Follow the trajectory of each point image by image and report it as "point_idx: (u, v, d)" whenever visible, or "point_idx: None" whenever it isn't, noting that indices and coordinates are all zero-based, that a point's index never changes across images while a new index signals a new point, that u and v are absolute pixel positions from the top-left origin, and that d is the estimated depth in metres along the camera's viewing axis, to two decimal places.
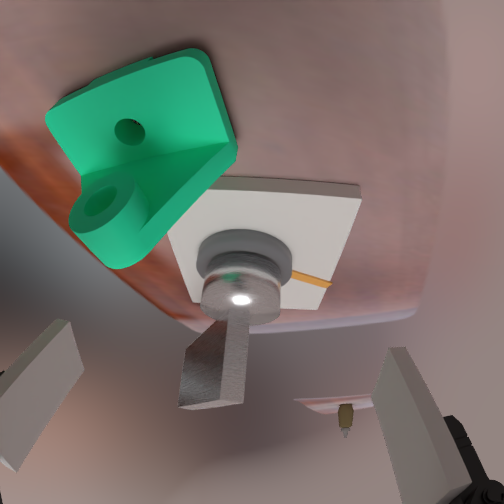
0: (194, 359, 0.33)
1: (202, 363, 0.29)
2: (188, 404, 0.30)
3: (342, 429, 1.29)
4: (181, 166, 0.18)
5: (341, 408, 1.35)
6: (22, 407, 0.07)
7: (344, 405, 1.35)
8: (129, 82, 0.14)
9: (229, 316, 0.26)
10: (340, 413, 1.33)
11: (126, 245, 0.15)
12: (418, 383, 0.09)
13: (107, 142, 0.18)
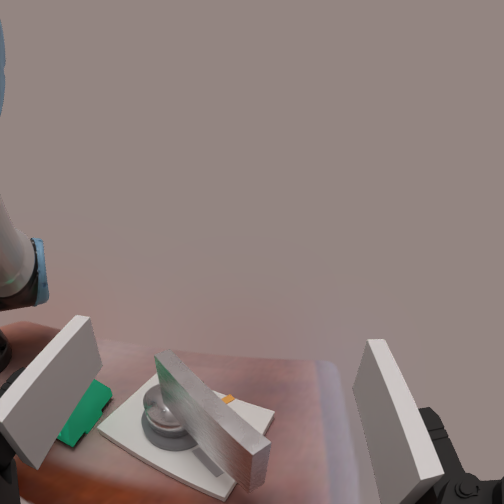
0: (210, 445, 0.26)
1: (188, 416, 0.28)
2: (208, 414, 0.24)
3: None
4: None
5: None
6: (44, 403, 0.08)
7: None
8: None
9: (163, 399, 0.34)
10: None
11: None
12: (394, 374, 0.09)
13: None
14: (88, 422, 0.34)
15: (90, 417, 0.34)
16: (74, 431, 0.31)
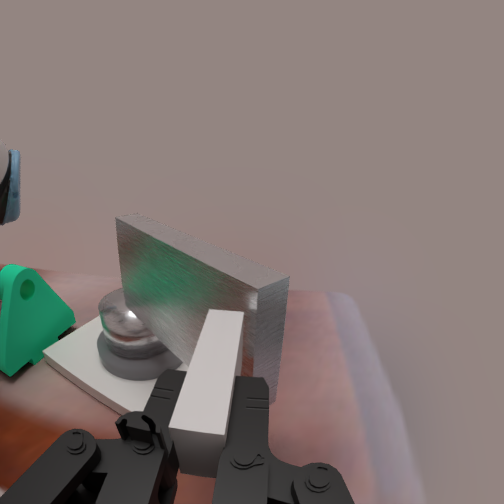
0: (185, 334, 0.18)
1: (154, 295, 0.20)
2: (180, 253, 0.16)
3: None
4: None
5: None
6: None
7: None
8: None
9: (125, 297, 0.26)
10: None
11: None
12: (231, 340, 0.11)
13: None
14: (36, 347, 0.25)
15: (40, 341, 0.26)
16: (15, 354, 0.22)
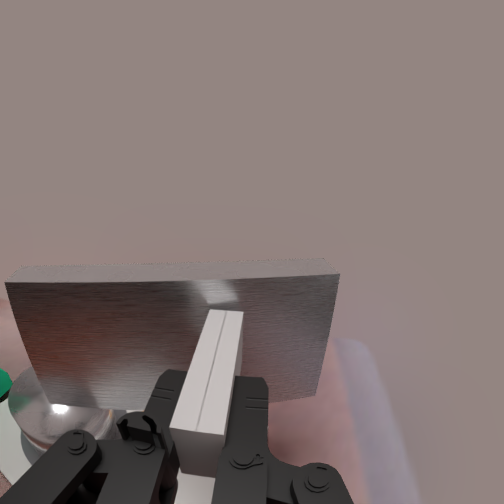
0: None
1: (138, 360, 0.14)
2: (215, 282, 0.13)
3: None
4: None
5: None
6: None
7: None
8: None
9: (45, 393, 0.13)
10: None
11: None
12: (231, 340, 0.11)
13: None
14: None
15: None
16: None
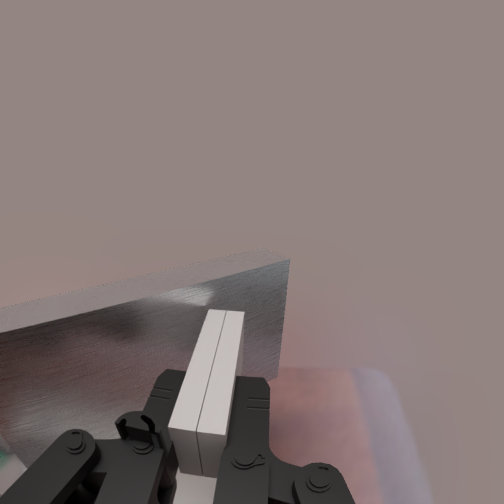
0: None
1: (119, 392, 0.11)
2: (188, 288, 0.12)
3: None
4: None
5: None
6: None
7: None
8: None
9: (22, 462, 0.09)
10: None
11: None
12: (232, 340, 0.11)
13: None
14: None
15: None
16: None
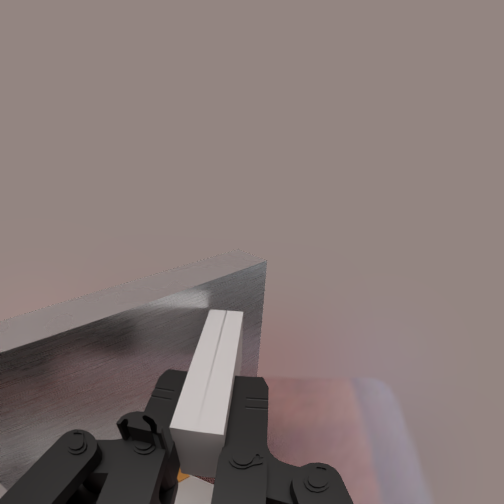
0: None
1: (101, 412, 0.10)
2: (166, 298, 0.11)
3: None
4: None
5: None
6: None
7: None
8: None
9: None
10: None
11: None
12: (231, 340, 0.11)
13: None
14: None
15: None
16: None
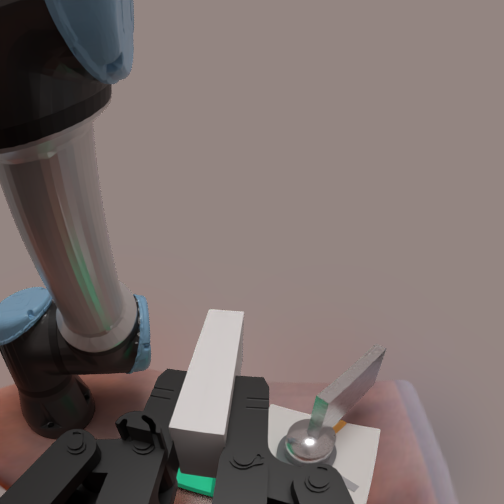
0: (360, 391, 0.42)
1: (349, 399, 0.39)
2: (369, 366, 0.40)
3: None
4: None
5: None
6: None
7: None
8: None
9: (317, 436, 0.36)
10: None
11: None
12: (231, 340, 0.11)
13: None
14: None
15: None
16: None
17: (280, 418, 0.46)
